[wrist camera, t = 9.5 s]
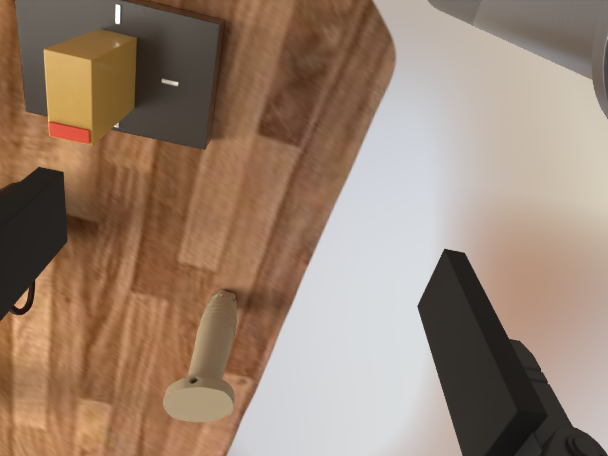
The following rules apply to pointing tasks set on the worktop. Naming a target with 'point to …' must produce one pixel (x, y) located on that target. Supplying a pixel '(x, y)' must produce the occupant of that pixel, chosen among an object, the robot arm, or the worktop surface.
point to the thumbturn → (89, 84)
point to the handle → (207, 366)
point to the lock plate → (149, 61)
